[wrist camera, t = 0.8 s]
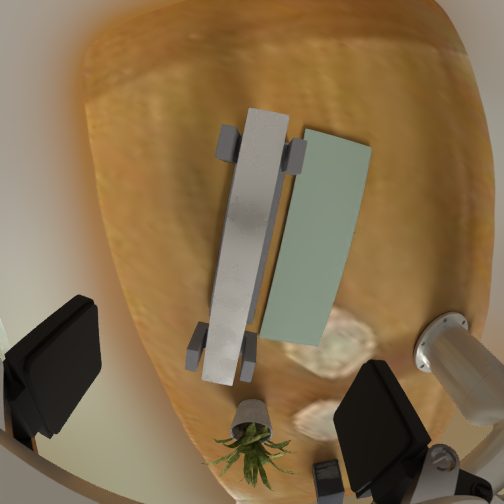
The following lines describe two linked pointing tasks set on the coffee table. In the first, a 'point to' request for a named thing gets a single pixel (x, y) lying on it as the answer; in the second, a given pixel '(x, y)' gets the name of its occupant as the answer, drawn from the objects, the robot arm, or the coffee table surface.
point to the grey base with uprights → (288, 165)
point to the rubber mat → (316, 238)
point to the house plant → (252, 440)
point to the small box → (328, 483)
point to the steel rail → (243, 241)
